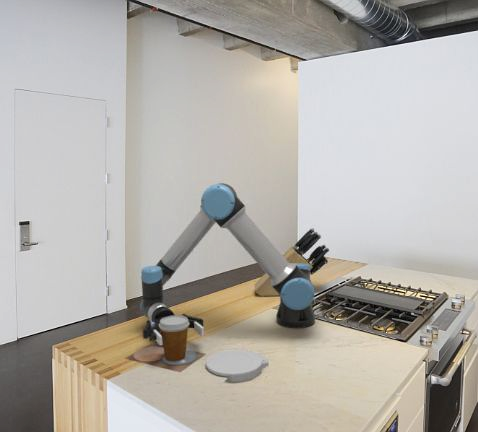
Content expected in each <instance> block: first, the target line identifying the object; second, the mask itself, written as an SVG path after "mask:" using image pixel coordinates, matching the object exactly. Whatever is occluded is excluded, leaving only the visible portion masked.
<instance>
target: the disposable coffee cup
mask: <svg viewBox="0 0 478 432" xmlns="http://www.w3.org/2000/svg"><path fill="white" fill-rule="evenodd" d="M188 326H189V321H188V319H187V318H186V317H184V316H182V315H175V316H168V317H165V318H162V319H161V320H160V323H159V327H160V329H161V331H160V335H161V336H162V345H163V347H164V353H165V359H166V360H169V361H179V360H182V359H184V358H185V353H186V350H187V343H188V341H187V340H188V333H189V332H188V331H189V328H188Z"/></svg>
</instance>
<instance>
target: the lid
mask: <svg viewBox="0 0 478 432" xmlns="http://www.w3.org/2000/svg"><path fill="white" fill-rule="evenodd" d="M205 367H206V369H207V370H208V371H209V372H210V373H212V374H214V375H216V376H219V377H223V378H224V377H225V378H227V379H225V380H224V382H226V383H241V382H245V381H250V380H251V379H254V378H256V377H257V376H258V375H259V374H261V371H262V370H263V369H264V368H265V369H266V368H267V367H269V359H268V358H267V356H265V355H262V354H261V353H256V352H255V351H252V350H248V349H243V348H242V349H241V348H240V349H239V348H234V349H232V348H231V349H225V350H220V351H216V352H213V353H212V354H211V355H209V356H208V357H207V359H206V360H205Z"/></svg>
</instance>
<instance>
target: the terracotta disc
mask: <svg viewBox="0 0 478 432" xmlns="http://www.w3.org/2000/svg"><path fill="white" fill-rule="evenodd" d="M133 353H134V359H135V360H137V361H141V362H153V361H158V360H161V359H162V357H164V355H165V353H164V348H163V347H157V346H153V347H146V348H144V347H142V348H140V349H138V350H136V351H135V352H133Z"/></svg>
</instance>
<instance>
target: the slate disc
mask: <svg viewBox="0 0 478 432" xmlns="http://www.w3.org/2000/svg"><path fill="white" fill-rule="evenodd" d="M194 351H195V350H191V349H186V353H185V358H184V359H182V360H179V361H169V360H166V359H165V355H164V357H162V361H163V362H164V363H166V364H168V365H174V366H179V365H186V364H189V363H192V362H194V361H195V360H196V359H197V353H196V352H197V351H195V352H194ZM194 363H195V362H194Z"/></svg>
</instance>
